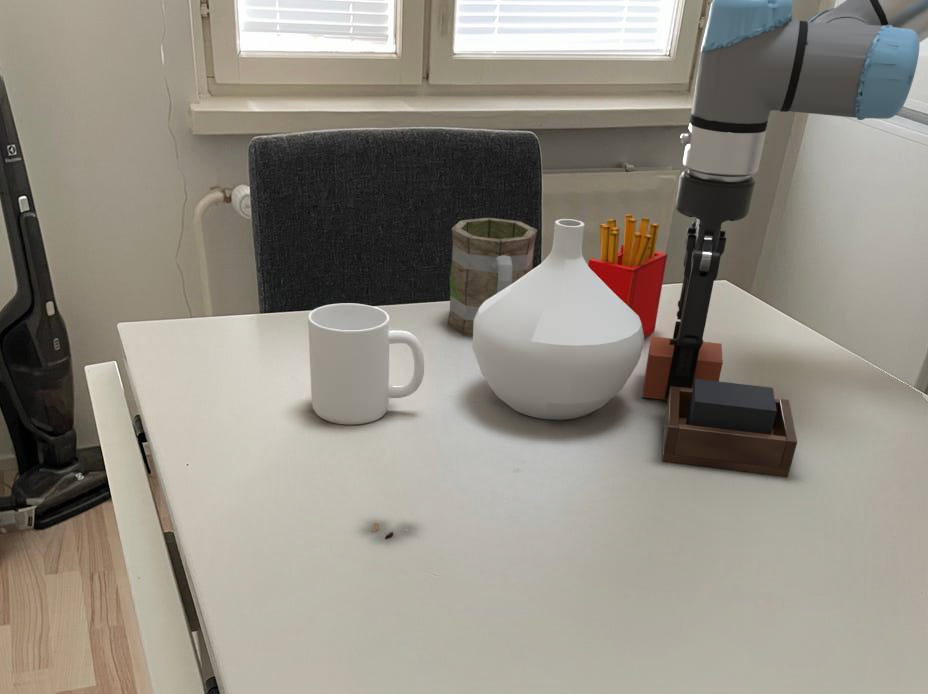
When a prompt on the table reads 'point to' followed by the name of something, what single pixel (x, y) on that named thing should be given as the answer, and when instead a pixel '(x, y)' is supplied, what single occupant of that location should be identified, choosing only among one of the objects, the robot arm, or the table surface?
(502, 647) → the table surface
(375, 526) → the pale spotted flat piece
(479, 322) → the vase
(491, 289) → the mug
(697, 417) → the dark gray rectangular block
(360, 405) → the cup
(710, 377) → the reddish brown rectangular block
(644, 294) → the french fries container
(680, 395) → the frame
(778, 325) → the table surface
